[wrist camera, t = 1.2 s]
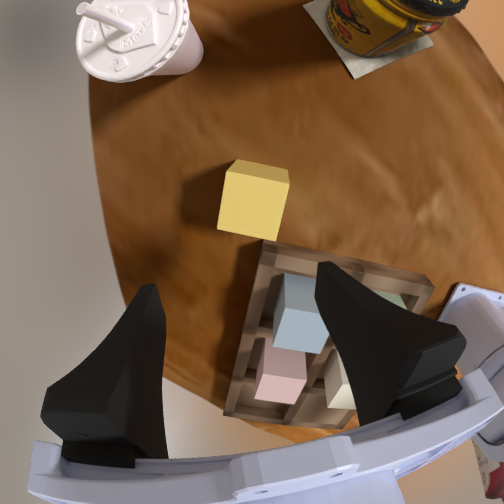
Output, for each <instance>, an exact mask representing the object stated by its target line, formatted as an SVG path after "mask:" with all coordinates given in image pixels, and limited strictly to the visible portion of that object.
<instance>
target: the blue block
mask: <svg viewBox="0 0 504 504" xmlns="http://www.w3.org/2000/svg"><path fill="white" fill-rule="evenodd" d="M315 285H316V279H312V278H307V277H302V276H297V275H292V274H287V273H284V276H283V280H282V283H281V287H280V290H279V294H278V297H277V301H276V304H275V307H274V321H273V345H272V346H273V347H279V348H284V349H290V350H297V351H303V352H310V353H317V354H320V353H321V351H322V349H323V347H324V345H325V342H326V340H327V338H328V336H329V332H328V330H327V328H326V326H325V324H324V322H323V320H322V318H321V316H320V313H319V310H318V307H317V304H316V301H315V298H314V294H315Z"/></svg>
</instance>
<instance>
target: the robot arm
mask: <svg viewBox="0 0 504 504" xmlns="http://www.w3.org/2000/svg"><path fill="white" fill-rule="evenodd" d="M463 287H464V288H463ZM462 288H463V289H462ZM314 298H315V301H316V304H317V307H318V310H319V313H320V316H321V318H322V320H323V322H324V324H325V326H326V328H327V330H328V332H329V334H330V336H331V338H332V341H333V343H334V345H335V347H336V349H337V351H338V353H339V355H340V358H341V360H342V363H343V366H344V369H345V372H346V375H347V378H348V381H349V384H350V388H351V391H352V395H353V398H354V402H355V406H356V410H357V414H358V419H359V424H360V427H358V428H354V429H351V430H348V431H345V432H341V433H338V434H334V435H330V436H327V437H323V438H319V439H315V440H311V441H307V442H302V443H298V444H293V445H289V446H284V447H279V448H273V449H268V450H261V451H255V452H248V453H241V454H233V455H225V456H214V457H200V458H182V459H169V457H168V451H167V445H166V437H165V427H164V417H163V403H162V374H163V364H164V354H165V343H166V316H165V313H164V310H163V307H162V303H161V300H160V297H159V294H158V290H157V287H156V284H155V283H154V284H145V285H142V286H141V287H140V289H139V290H138V292H137V293H136V295H135V297H134V298H133V300H132V301H131V303H130V304H129V306H128V308H127V309H126V311H125V312H124V314H123V315H122V316H121V318H120V319H119V321H118V322H117V323H116V325H115V326H114V328H113V329H112V330H111V332H110V333H109V334H108V335H107V337H106V338H105V339H104V340H103V341H102V342H101V344H100V345H99V346H98V347H97V348H96V349H95V350H94V351H93V352H92V353H91V354H90V355H89V356H88V357H87V358H86V359H85V360H84V361H83V362H82V363H81V364H79V365H78V366H77V367H76V368H75V369H73V370H72V371H71V372H70V373H68V374H67V375H66V376H64V377H63V378H61V379H60V380H59V381H57V382H56V383H54V384H53V385H51V386H50V387H48V388H47V391H46V394H45V398H44V402H43V406H42V410H41V419H42V421H43V422H44V424H45V425H46V426H47V427H48V428H49V429H51V430H52V431H53V432H54V433H55V434H57V435H58V436H59V437H60V438H62V439H63V445H62V446H60V445H57V444H54V443H49V442H44V441H39V440H35V441H34V444H33V449H32V455H31V462H30V469H29V476H28V485H27V491H28V492H30V493H31V494H33V495H36V496H38V497H40V498H42V499H44V500H46V501H49V502H51V503H53V504H405V502H404V499H403V496H402V494H401V491H400V489H399V486H398V483H397V481H396V480H397V479H399V478H401V477H403V476H405V475H407V474H409V473H411V472H413V471H415V470H417V469H419V468H421V467H422V466H424V465H426V464H428V463H429V462H431V461H433V460H435V459H437V458H438V457H440V456H442V455H444V454H445V453H447V452H448V451H450V450H452V449H453V448H455V447H457V446H458V445H460V444H461V443H463V442H465V441H466V440H468V439H469V438H471V440H472V441H473V442H474V443H475V444H477V445H478V446H479V447H480V449H481V450H482V451H483V453H484V454H485V456H486V457H487V458H488V460H489V461H491V462H504V293H500V292H496V291H492V290H488V289H484V288H480V287H476V286H471V285H467V284H463V283H458V284H457V285H456V287H455V289H454V291H453V293H452V295H451V296H450V298H449V300H448V302H447V304H446V306H445V308H444V309H443V311H442V313H441V315H440V316H439V318H438V320H437V321H436V320H433V319H430V318H427V317H424V316H421V315H419V314H416V313H414V312H411V311H409V310H407V309H404V308H402V307H400V306H398V305H396V304H394V303H392V302H390V301H389V300H387V299H385V298H383V297H381V296H380V295H378V294H377V293H375V292H373V291H372V290H370V289H369V288H367V287H366V286H364V285H363V284H362V283H360V282H359V281H357V280H356V279H355V278H353V277H352V276H350V275H349V274H348V273H346V272H345V271H344V270H342V269H341V268H340V267H338V266H337V265H336V264H334V263H333V262H331V261H325V262H318V265H317V275H316V285H315V294H314ZM455 364H457V366H458V368H459V370H460V372H461V374H462V376H463V377H462V378H461V379H459V380H457V378H456V377H455V375H456V374H457V370H456V369H455V367H454V366H455Z"/></svg>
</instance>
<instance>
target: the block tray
mask: <svg viewBox="0 0 504 504" xmlns="http://www.w3.org/2000/svg"><path fill="white" fill-rule="evenodd" d="M325 261H331V262H333V263H334V264H336V265H337V266H338V267H340V268H341V269H342V270H344V271H345V272H346V273H348V274H349V275H350V276H352V277H353V278H355V279H356V280H357V281H359V282H360V283H362V284H363V285H364V286H366V287H367V288H369V289H370V290H373V291H378V292H383V293H388V294H394V295H399V296H400V297H401V299H402V301H403V302H404V304H405V306H406V308H407V310H409V311H411V312H414V313H416V314H419V315H421V313H422V311H423V309H424V307H425V305H426V304H427V302H428V300H429V298H430V296H431V294H432V292H433V290H434V288H435V287H434V286H433V284H432V283H431V282H430V280H429V279H428V278H427V276H426V275H424V274H420V273H415V272H411V271H407V270H402V269H398V268H394V267H389V266H385V265H381V264H376V263H372V262H367V261H363V260H358V259H354V258H349V257H345V256H340V255H336V254H331V253H327V252H322V251H318V250H313V249H309V248H304V247H299V246H295V245H290V244H285V243H281V242H276V241H271V240H267V239H264V240H263V244H262V249H261V253H260V257H259V262H258V266H257V270H256V275H255V279H254V283H253V288H252V292H251V296H250V301H249V305H248V309H247V313H246V318H245V322H244V326H243V330H242V335H241V339H240V343H239V347H238V351H237V356H236V360H235V364H234V368H233V372H232V377H231V381H230V385H229V389H228V393H227V397H226V401H225V407H224V412H223V415H224V416H229V417H235V418H240V419H246V420H252V421H259V422H266V423H273V424H281V425H290V426H300V427H311V428H326V429H343V428H344V426H345V425H346V424H347V423H348V421H349V420H350V419H351V418H352V416H353V415H354V414H355V413H356V411H357V410H356V409H338V408H327V399H326V390H325V381H324V373H323V372H324V370H325V369H326V367H327V365H328V363H329V361H330V359H331V357H332V355H333V353H334V351H335V349H336V347H335V345H334V343H333V341H332V338H331V336H330V334H329V336H328V338H327V340H326V342H325V345H324V347H323V349H322V351H321V353H320V354H317V353H310V352H305V358H306V373H307V381H306V383H305V385H304V387H303V389H302V391H301V393H300V395H299V396H298V398H297V400H296V402H295V404H287V403H279V402H272V401H265V400H259V399H254V395H255V385H256V375H257V364H258V360H259V357H260V353H261V350H262V347H263V344H264V341H265V338H269V339H273V321H274V307H275V304H276V301H277V297H278V294H279V290H280V287H281V283H282V280H283V276H284V273H287V274H292V275H297V276H302V277H307V278H312V279H316V275H317V265H318V262H325Z"/></svg>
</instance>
